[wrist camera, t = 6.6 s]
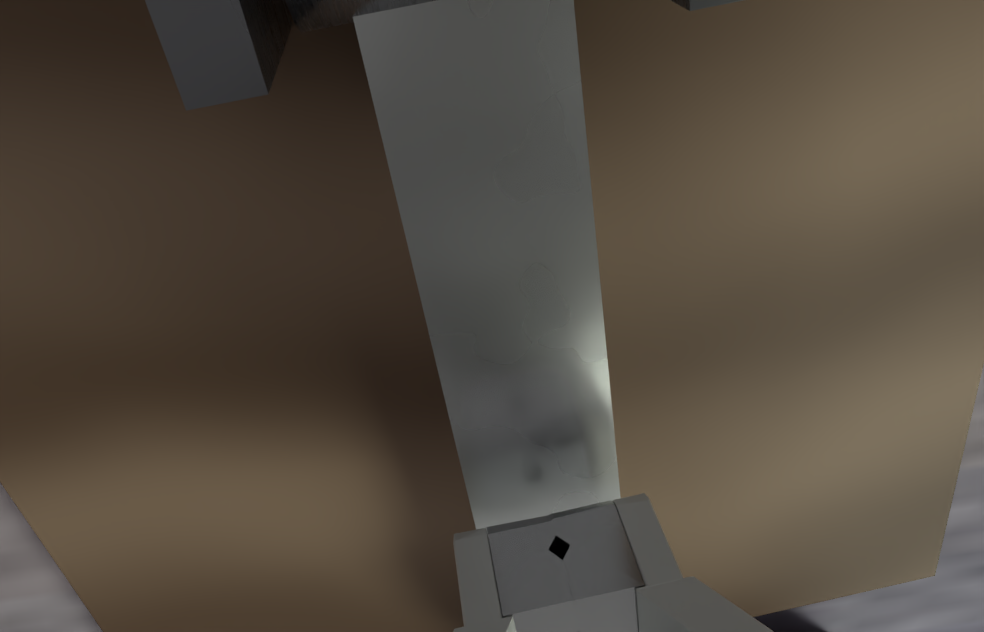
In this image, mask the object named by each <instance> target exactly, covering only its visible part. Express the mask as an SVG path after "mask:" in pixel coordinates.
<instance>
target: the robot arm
mask: <svg viewBox="0 0 984 632" xmlns="http://www.w3.org/2000/svg"><path fill="white" fill-rule="evenodd" d="M487 532H488V533H487ZM453 545H454V553H455V561H456V569H457V576H458V584H459V592H460V600H461V607H462V615H463V623H464V627H460V628H456V629H454V631H453V632H774V631H772V630H771V629H769V628H768V627H766V626H765V625H764V624H762V623H761V622H759V621H758V620H756V619H755V618H753V617H752V616H750V615H749V614H748V613H746V612H745V611H743V610H742V609H740V608H739V607H737V606H736V605H734V604H733V603H732V602H730V601H729V600H727V599H726V598H724V597H723V596H721V595H720V594H718V593H717V592H716V591H714V590H713V589H711V588H710V587H708V586H707V585H705V584H704V583H702V582H701V581H700V580H698V579H697V578H695V577H694V576H691V577H686V578H683V576H682V573H681V571H680V569H679V566H678V564H677V562H676V559H675V557H674V555H673V552H672V550H671V548H670V546H669V543H668V541H667V539H666V536H665V534H664V532H663V529H662V527H661V525H660V522H659V520H658V518H657V515H656V513H655V511H654V509H653V506H652V504H651V502H650V499H649V497H648V496H647V495H645V494H644V493H643V494H638V495H634V496H629V497H624V498H620V499H615V500H613V501H611V500H609V501H605V502H600V503H596V504H592V505H587V506H583V507H579V508H574V509H570V510H565V511H561V512H557V513H552V514H549V515H547V516H542V517H537V518H532V519H526V520H521V521H516V522H510V523H505V524H500V525H495V526H489V527H487V529H486V528H481V529H476V530H471V531H466V532H461V533H456V534H454V538H453Z"/></svg>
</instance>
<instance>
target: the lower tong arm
mask: <svg viewBox="0 0 984 632" xmlns="http://www.w3.org/2000/svg"><path fill="white" fill-rule="evenodd" d="M671 1H672V2H674V3H676V4H678V5H680V6H682V7H683V8H685V9H687V10H689V11H693V10H698V9H703V8H708V7H713V6H718V5H723V4H728V3H733V2H738V1H743V0H671ZM145 2H146V5H147V7H148V10H149V13H150V15H151V18H152V21H153V23H154V26H155V29H156V31H157V34H158V37H159V39H160V42H161V45H162V47H163V50H164V53H165V55H166V58H167V61H168V63H169V66H170V69H171V71H172V74H173V77H174V79H175V82H176V85H177V87H178V90H179V93H180V95H181V98H182V101H183V103H184V106H185V109H186V111H187V110H192V109H197V108H202V107H207V106H212V105H217V104H223V103H228V102H233V101H238V100H243V99H248V98H253V97H258V96H263V95H268V94H269V91H270V89H271V86H272V83H273V80H274V77H275V74H276V71H277V68H278V65H279V62H280V59H281V57H282V54H283V51H284V48H285V45H286V42H287V39H288V36H289V33H290V30H291V27H292V22H291V19H290V15H289V12H288V8H287V5H286V1H285V0H145Z"/></svg>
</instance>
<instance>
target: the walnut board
mask: <svg viewBox="0 0 984 632" xmlns="http://www.w3.org/2000/svg"><path fill="white" fill-rule="evenodd" d="M286 5H287V4H286ZM287 8H288V7H287ZM574 10H575V20H576V31H577V42H578V52H579V63H580V73H581V84H582V95H583V105H584V116H585V126H586V137H587V148H588V158H589V169H590V179H591V190H592V200H593V211H594V222H595V232H596V243H597V253H598V264H599V275H600V285H601V296H602V306H603V317H604V328H605V338H606V349H607V359H608V370H609V381H610V391H611V402H612V412H613V423H614V434H615V444H616V455H617V465H618V476H619V487H620V497H621V498H624V497H629V496H634V495H638V494H643V493H644V494H645V495H647V496H648V497H649V499H650V502H651V504H652V506H653V509H654V511H655V513H656V515H657V518H658V520H659V522H660V525H661V527H662V529H663V532H664V534H665V536H666V539H667V541H668V543H669V546H670V548H671V550H672V552H673V555H674V557H675V559H676V562H677V564H678V566H679V569H680V571H681V573H682V576H683V578H686V577H691V576H694V577H695V578H697V579H698V580H700V581H701V582H702V583H704V584H705V585H707V586H708V587H710V588H711V589H713V590H714V591H716V592H717V593H718V594H720V595H721V596H723V597H724V598H726V599H727V600H729V601H730V602H732V603H733V604H734V605H736V606H737V607H739V608H740V609H742V610H743V611H745V612H746V613H748V614H749V615H750V616H752V617H756V616H761V615H765V614H769V613H774V612H778V611H783V610H787V609H791V608H796V607H800V606H804V605H809V604H813V603H818V602H822V601H826V600H831V599H835V598H839V597H844V596H848V595H853V594H857V593H861V592H866V591H870V590H875V589H879V588H883V587H888V586H892V585H896V584H901V583H905V582H910V581H914V580H918V579H923V578H927V577H931V576H935V573H936V568H937V564H938V560H939V555H940V551H941V547H942V542H943V538H944V534H945V529H946V525H947V521H948V516H949V512H950V508H951V503H952V499H953V495H954V490H955V486H956V482H957V477H958V473H959V469H960V464H961V460H962V455H963V451H964V447H965V442H966V438H967V434H968V429H969V425H970V421H971V416H972V412H973V408H974V403H975V399H976V395H977V390H978V386H979V382H980V377H981V373H982V369H983V364H984V0H743V1H738V2H733V3H728V4H723V5H718V6H713V7H708V8H703V9H698V10H693V11H689V10H687V9H685V8H683V7H682V6H680V5H678V4H676V3H674V2H672V1H671V0H574ZM288 12H289V15H290V19H291V22H292V27H291V30H290V33H289V36H288V39H287V42H286V45H285V48H284V51H283V54H282V57H281V59H280V62H279V65H278V68H277V71H276V74H275V77H274V80H273V83H272V86H271V89H270V91H269V94H268V95H263V96H258V97H253V98H248V99H243V100H238V101H233V102H228V103H223V104H217V105H212V106H207V107H202V108H197V109H192V110H187V111H186V109H185V106H184V103H183V101H182V98H181V95H180V93H179V90H178V87H177V85H176V82H175V79H174V77H173V74H172V71H171V69H170V66H169V63H168V61H167V58H166V55H165V53H164V50H163V47H162V45H161V42H160V39H159V37H158V34H157V31H156V29H155V26H154V23H153V21H152V18H151V15H150V13H149V10H148V7H147V5H146V2H145V0H0V482H1V484H2V485H3V487H4V488H5V490H6V491H7V493H8V494H9V495H10V497H11V498H12V500H13V501H14V503H15V504H16V506H17V507H18V509H19V510H20V511H21V513H22V514H23V516H24V517H25V519H26V520H27V522H28V523H29V525H30V526H31V527H32V529H33V530H34V532H35V533H36V535H37V536H38V538H39V539H40V541H41V542H42V543H43V545H44V546H45V548H46V549H47V551H48V552H49V554H50V555H51V557H52V558H53V559H54V561H55V562H56V564H57V565H58V567H59V568H60V570H61V571H62V573H63V574H64V575H65V577H66V578H67V580H68V581H69V583H70V584H71V586H72V587H73V589H74V590H75V592H76V593H77V594H78V596H79V597H80V599H81V600H82V602H83V603H84V605H85V606H86V608H87V609H88V610H89V612H90V613H91V615H92V616H93V618H94V619H95V621H96V622H97V624H98V625H99V626H100V628H101V629H102V631H103V632H453V631H454V629H456V628H460V627H464V623H463V615H462V607H461V600H460V592H459V584H458V576H457V569H456V561H455V553H454V545H453V538H454V534H456V533H461V532H466V531H471V530H476V527H475V522H474V518H473V514H472V510H471V506H470V502H469V498H468V493H467V489H466V485H465V481H464V477H463V473H462V469H461V464H460V460H459V456H458V452H457V448H456V444H455V440H454V435H453V431H452V427H451V423H450V419H449V415H448V411H447V406H446V402H445V398H444V394H443V390H442V386H441V382H440V377H439V373H438V369H437V365H436V361H435V357H434V353H433V348H432V344H431V340H430V336H429V332H428V328H427V324H426V319H425V315H424V311H423V307H422V303H421V299H420V294H419V290H418V286H417V282H416V278H415V274H414V270H413V265H412V261H411V257H410V253H409V249H408V245H407V241H406V236H405V232H404V228H403V224H402V220H401V216H400V212H399V207H398V203H397V199H396V195H395V191H394V187H393V183H392V178H391V174H390V170H389V166H388V162H387V158H386V154H385V149H384V145H383V141H382V137H381V133H380V129H379V125H378V120H377V116H376V112H375V108H374V104H373V100H372V96H371V91H370V87H369V83H368V79H367V75H366V71H365V66H364V62H363V58H362V54H361V50H360V46H359V42H358V37H357V33H356V29H355V25H354V22H352V23H347V24H342V25H337V26H332V27H327V28H322V29H317V30H311V31H306V32H300V31H299V30H298V28H297V26H296V25H295V23H294V21H293V18H292V16H291V14H290V11H289V9H288Z"/></svg>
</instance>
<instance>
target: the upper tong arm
mask: <svg viewBox="0 0 984 632" xmlns="http://www.w3.org/2000/svg"><path fill="white" fill-rule="evenodd" d="M285 1H286V4H287V7H288V9H289V11H290V14H291V16H292V18H293V21H294V23H295V25H296V26H297V28H298V30H299V31H300V32H306V31H311V30H317V29H322V28H327V27H332V26H337V25H342V24H347V23H352V22H354V25H355V29H356V33H357V37H358V42H359V46H360V50H361V54H362V58H363V62H364V66H365V71H366V75H367V79H368V83H369V87H370V91H371V96H372V100H373V104H374V108H375V112H376V116H377V120H378V125H379V129H380V133H381V137H382V141H383V145H384V149H385V154H386V158H387V162H388V166H389V170H390V174H391V178H392V183H393V187H394V191H395V195H396V199H397V203H398V207H399V212H400V216H401V220H402V224H403V228H404V232H405V236H406V241H407V245H408V249H409V253H410V257H411V261H412V265H413V270H414V274H415V278H416V282H417V286H418V290H419V294H420V299H421V303H422V307H423V311H424V315H425V319H426V324H427V328H428V332H429V336H430V340H431V344H432V348H433V353H434V357H435V361H436V365H437V369H438V373H439V377H440V382H441V386H442V390H443V394H444V398H445V402H446V406H447V411H448V415H449V419H450V423H451V427H452V431H453V435H454V440H455V444H456V448H457V452H458V456H459V460H460V464H461V469H462V473H463V477H464V481H465V485H466V489H467V493H468V498H469V502H470V506H471V510H472V514H473V518H474V522H475V527H476V529H481V528H486V529H487V527H489V526H495V525H500V524H505V523H510V522H516V521H521V520H526V519H532V518H537V517H542V516H547V515H549V514H552V513H557V512H561V511H565V510H570V509H574V508H579V507H583V506H587V505H592V504H596V503H600V502H605V501H609V500H611V501H613V500H615V499H620V498H621V497H620V487H619V476H618V465H617V455H616V444H615V434H614V423H613V412H612V402H611V391H610V381H609V370H608V359H607V349H606V338H605V328H604V317H603V306H602V296H601V285H600V275H599V264H598V253H597V243H596V232H595V222H594V211H593V200H592V190H591V179H590V169H589V158H588V148H587V137H586V126H585V116H584V105H583V95H582V84H581V73H580V63H579V52H578V42H577V31H576V20H575V10H574V0H285ZM487 533H488V532H487Z"/></svg>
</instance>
